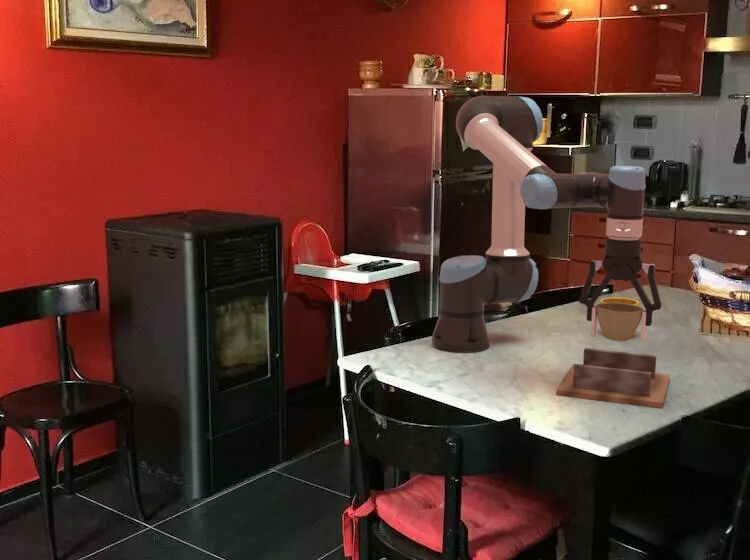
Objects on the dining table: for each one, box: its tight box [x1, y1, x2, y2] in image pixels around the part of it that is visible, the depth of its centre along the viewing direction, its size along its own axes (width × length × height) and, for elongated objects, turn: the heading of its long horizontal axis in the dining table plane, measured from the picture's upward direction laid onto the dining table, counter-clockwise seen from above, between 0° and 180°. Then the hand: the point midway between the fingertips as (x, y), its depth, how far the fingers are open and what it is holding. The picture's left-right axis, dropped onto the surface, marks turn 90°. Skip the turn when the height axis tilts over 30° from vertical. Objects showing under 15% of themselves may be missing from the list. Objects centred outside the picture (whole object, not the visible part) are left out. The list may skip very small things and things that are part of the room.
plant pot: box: [599, 297, 640, 306], centre depth 238 cm, size 10×10×10 cm
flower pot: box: [595, 303, 644, 342], centre depth 189 cm, size 10×10×7 cm
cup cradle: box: [555, 347, 670, 409], centre depth 191 cm, size 22×22×6 cm
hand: (617, 337), depth 190 cm, fingers closed on flower pot, 10 cm apart
